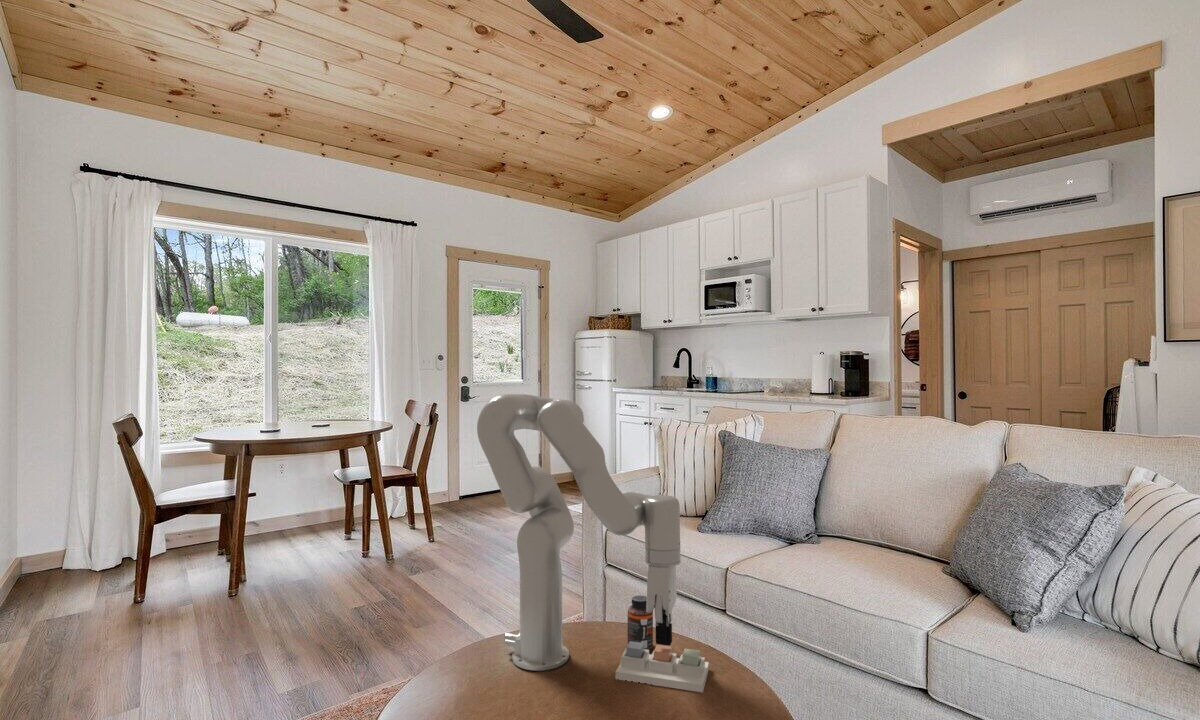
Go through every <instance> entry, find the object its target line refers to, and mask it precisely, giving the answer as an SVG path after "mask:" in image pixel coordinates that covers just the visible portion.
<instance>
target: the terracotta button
mask: <svg viewBox="0 0 1200 720" xmlns="http://www.w3.org/2000/svg"><path fill="white" fill-rule="evenodd" d="M653 651H654V660H656V661H663V662H670V661H671V659H672V653H673V652H672V651H673V649H672V646H671V645H670V646H668V645H660V644H656V646H655V648H654V649H653Z"/></svg>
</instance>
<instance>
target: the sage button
mask: <svg viewBox="0 0 1200 720" xmlns="http://www.w3.org/2000/svg"><path fill="white" fill-rule="evenodd" d="M700 657H701V650H697V649H692V648H691V649H690V648H684V650H683V652H682V664H685V665H692V666H699V664H700Z"/></svg>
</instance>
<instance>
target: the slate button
mask: <svg viewBox="0 0 1200 720" xmlns="http://www.w3.org/2000/svg"><path fill="white" fill-rule="evenodd" d="M625 649H626V656H628V657H635V658H642V657H643V655H644V643H640V642H632V641H630V642H629V643H628V642H627V645H626V646H625Z"/></svg>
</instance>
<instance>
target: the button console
mask: <svg viewBox="0 0 1200 720" xmlns="http://www.w3.org/2000/svg"><path fill="white" fill-rule="evenodd" d="M682 655H683V653H682V654H681V655H680V656H679V657H677V653H675V652H672V659H671V661H670V662H663V661H656V660H654V650H653V651H652V653H651V654H650V650H646V649H644V655H643V657H642V658H635V657H628V656H626V648H625V649H624V651H623V653H622V655H621V656H620V663H619V665H618V666H617V668H616V670H615V678H614V679H615V680H618V679H619V681H625V680H627V681H626V682H631V681H633V682H632V683H638V682H640V683H639V684H644V683H647V684H646V685H651V684H652V685H653V686H657V687H663V688H664V687H665V688H669V689H670V688H672V689H675V690H677V689H678V690H685V691H691V692H695V693H704V690H705V687H706V683H707V682H706V681H707V678H708V674H709V670H710V667H709V666H710V665H709V664H710V663H709V661H706V657H705V656H704V657H702V656H700V664H699V666H692V665H685V664H682Z"/></svg>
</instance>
